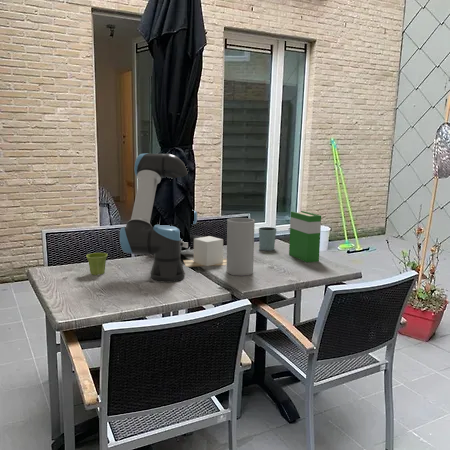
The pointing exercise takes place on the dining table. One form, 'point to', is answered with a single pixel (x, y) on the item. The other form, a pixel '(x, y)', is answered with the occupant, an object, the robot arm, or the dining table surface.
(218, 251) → the white cover
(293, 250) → the hardback book
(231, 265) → the cylinder vase
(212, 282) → the dining table surface
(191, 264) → the wooden cutting board
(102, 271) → the plant pot
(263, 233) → the grey-blue cup
